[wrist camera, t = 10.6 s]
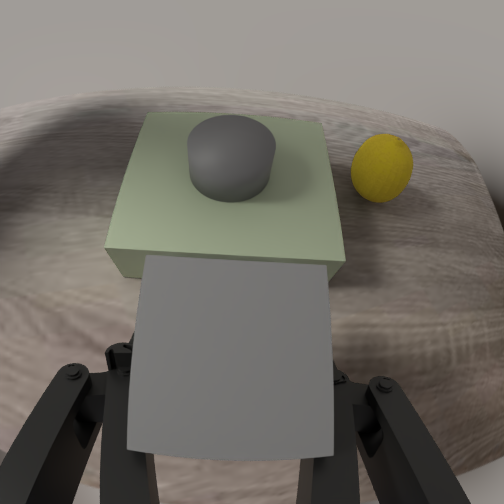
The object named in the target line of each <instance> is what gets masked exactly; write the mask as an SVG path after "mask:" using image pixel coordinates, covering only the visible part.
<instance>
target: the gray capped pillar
mask: <svg viewBox="0 0 504 504" xmlns="http://www.w3.org/2000/svg"><path fill="white" fill-rule="evenodd" d="M127 449H128V450H133V451H139V452H145V453H152V454H159V455H166V456H175V457H184V458H196V459H210V460H234V461H266V460H290V459H305V458H316V457H325V456H334V386H333V355H332V334H331V317H330V302H329V289H328V277H327V266H326V265H314V264H295V263H276V262H258V261H241V260H223V259H206V258H190V257H174V256H158V255H146V258H145V264H144V270H143V276H142V282H141V288H140V295H139V302H138V309H137V317H136V324H135V333H134V342H133V351H132V362H131V373H130V386H129V402H128V424H127Z"/></svg>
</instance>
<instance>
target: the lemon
mask: <svg viewBox="0 0 504 504" xmlns="http://www.w3.org/2000/svg"><path fill="white" fill-rule="evenodd" d="M412 170H413V158H412V154H411V152H410V150H409V148H408V146H407V145H406V144H405V143H404V142H403V141H402V140H401V139H400V138H399V137H396V136H393V135H390V134H379V135H375V136H373V137H371V138H369V139H368V140H366V141H365V142H364V143H363V145H362V146H361V147H360V148H359V149H358V151H357V152H356V154H355V156H354V159H353V162H352V166H351V179H352V183H353V185H354V187H355V189H356V191H357V192H358V193H359V194H360V195H361V196H362V197H364V198H365V199H367V200H369V201H372V202H378V203H382V202H387V201H390V200H392V199H394V198H395V197H397V196H398V195H399V194H400V193H401V192H402V191H403V190H404V188H405V187H406V186H407V184H408V182H409V180H410V177H411V174H412Z"/></svg>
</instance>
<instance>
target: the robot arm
mask: <svg viewBox="0 0 504 504" xmlns="http://www.w3.org/2000/svg"><path fill="white" fill-rule="evenodd" d="M134 333H135V331H134ZM134 333H133V335H132V339H131V340H130V342H129V343H117V344H114V345H111V346H110V347H109V348H107V350H106V352H105V356H106V360H107V365H108V370H109V371H107V372H102V373H89V371H88V368H87V367H86V366H84V365H82V364H78V363H72V364H67V365H65V366H63V367H62V368H61V369H60V370H59V371H58V372H57V374H56V375H55V377H54V378H53V380H52V381H51V383H50V384H49V386H48V387H47V389H46V390H45V392H44V393H43V395H42V397H41V398H40V400H39V401H38V403H37V404H36V406H35V407H34V409H33V411H32V412H31V414H30V415H29V417H28V419H27V420H26V422H25V424H24V425H23V427H22V429H21V430H20V432H19V434H18V435H17V437H16V439H15V441H14V442H13V444H12V446H11V447H10V449H9V451H8V453H7V455H6V456H5V458H4V460H3V462H2V464H1V466H0V504H72V503H73V500H74V497H75V494H76V492H77V489H78V486H79V483H80V480H81V478H82V475H83V472H84V469H85V467H86V464H87V461H88V459H89V456H90V453H91V451H92V448H93V446H94V443H95V441H96V438H97V436H98V433H99V431H100V428H101V426H102V423H103V427H102V441H101V461H100V504H160V503H159V496H158V489H157V481H156V473H155V464H154V454H152V453H145V452H139V451H133V450H128V449H127V424H128V402H129V386H130V373H131V362H132V351H133V342H134ZM333 386H334V456H325V457H316V458H305V459H301V462H300V472H299V482H298V491H297V500H296V504H360V495H359V476H358V460H357V447H358V450H359V452H360V455H361V457H362V460H363V462H364V465H365V467H366V470H367V472H368V475H369V478H370V480H371V483H372V485H373V488H374V490H375V493H376V496H377V498H378V501H379V503H380V504H471V503H470V501H469V499H468V498H467V496H466V494H465V492H464V491H463V489H462V487H461V485H460V483H459V482H458V480H457V478H456V477H455V475H454V473H453V471H452V470H451V468H450V466H449V465H448V463H447V461H446V459H445V458H444V456H443V454H442V453H441V451H440V449H439V448H438V446H437V444H436V443H435V441H434V440H433V438H432V436H431V435H430V433H429V431H428V430H427V428H426V427H425V425H424V423H423V422H422V420H421V419H420V417H419V415H418V414H417V412H416V411H415V409H414V407H413V406H412V404H411V403H410V401H409V400H408V398H407V397H406V395H405V393H404V392H403V390H402V389H401V387H400V386H399V384H398V383H397V382H396V381H395V380H393V379H391V378H388V377H385V376H378V377H374V378H372V379H371V380H370V382H369V385H366V384H359V383H354V382H351V381H349V378H348V376H347V375H346V374H344V373H343V372H341V371H339V370H337V368H336V366H335V363H334V361H333ZM356 445H357V447H356Z"/></svg>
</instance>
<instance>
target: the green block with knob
mask: <svg viewBox="0 0 504 504" xmlns="http://www.w3.org/2000/svg"><path fill="white" fill-rule="evenodd" d="M104 248H105V250H106V251H107V253H108V254H109V256H110V257H111V259H112V260H113V262H114V263H115V265H116V266H117V268H118V269H119V271H120V272H121V274H122V275H123V277H131V278H142V276H143V270H144V264H145V258H146V255H158V256H174V257H190V258H206V259H223V260H241V261H258V262H276V263H295V264H314V265H326V266H327V277H328V282H329V281H330V280H331V278H332V277H333V276H334V275H335V274H336V272H337V271H338V270H339V269H340V268H341V266H342V265H343V264H344V263H345V261H346V260H345V252H344V244H343V237H342V230H341V224H340V217H339V211H338V205H337V199H336V193H335V187H334V182H333V176H332V171H331V166H330V161H329V156H328V151H327V146H326V141H325V137H324V132H323V127H322V123H316V122H309V121H302V120H294V119H286V118H277V117H267V116H256V115H243V114H227V113H205V112H148V113H147V115H146V118H145V120H144V123H143V125H142V128H141V130H140V133H139V136H138V138H137V141H136V144H135V146H134V149H133V152H132V155H131V158H130V161H129V163H128V166H127V169H126V172H125V175H124V179H123V182H122V185H121V188H120V191H119V195H118V198H117V201H116V205H115V208H114V212H113V215H112V219H111V223H110V226H109V230H108V234H107V238H106V242H105V246H104Z"/></svg>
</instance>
